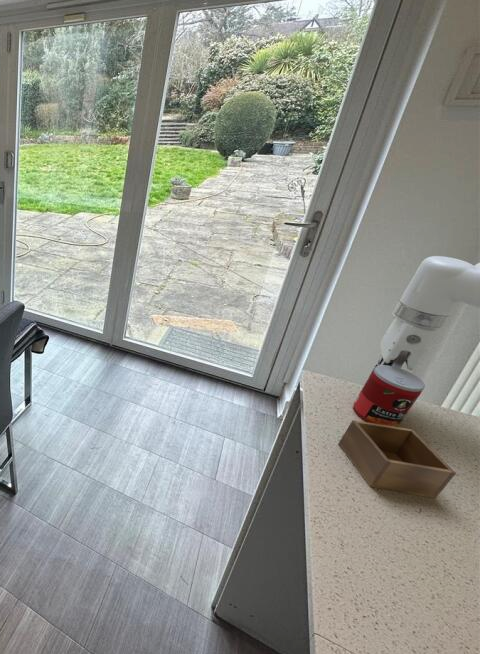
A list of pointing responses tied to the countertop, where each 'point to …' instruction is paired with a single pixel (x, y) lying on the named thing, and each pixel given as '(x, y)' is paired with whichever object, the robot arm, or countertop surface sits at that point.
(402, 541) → the countertop surface
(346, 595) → the countertop surface
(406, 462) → the box
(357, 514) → the countertop surface
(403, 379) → the canned food
